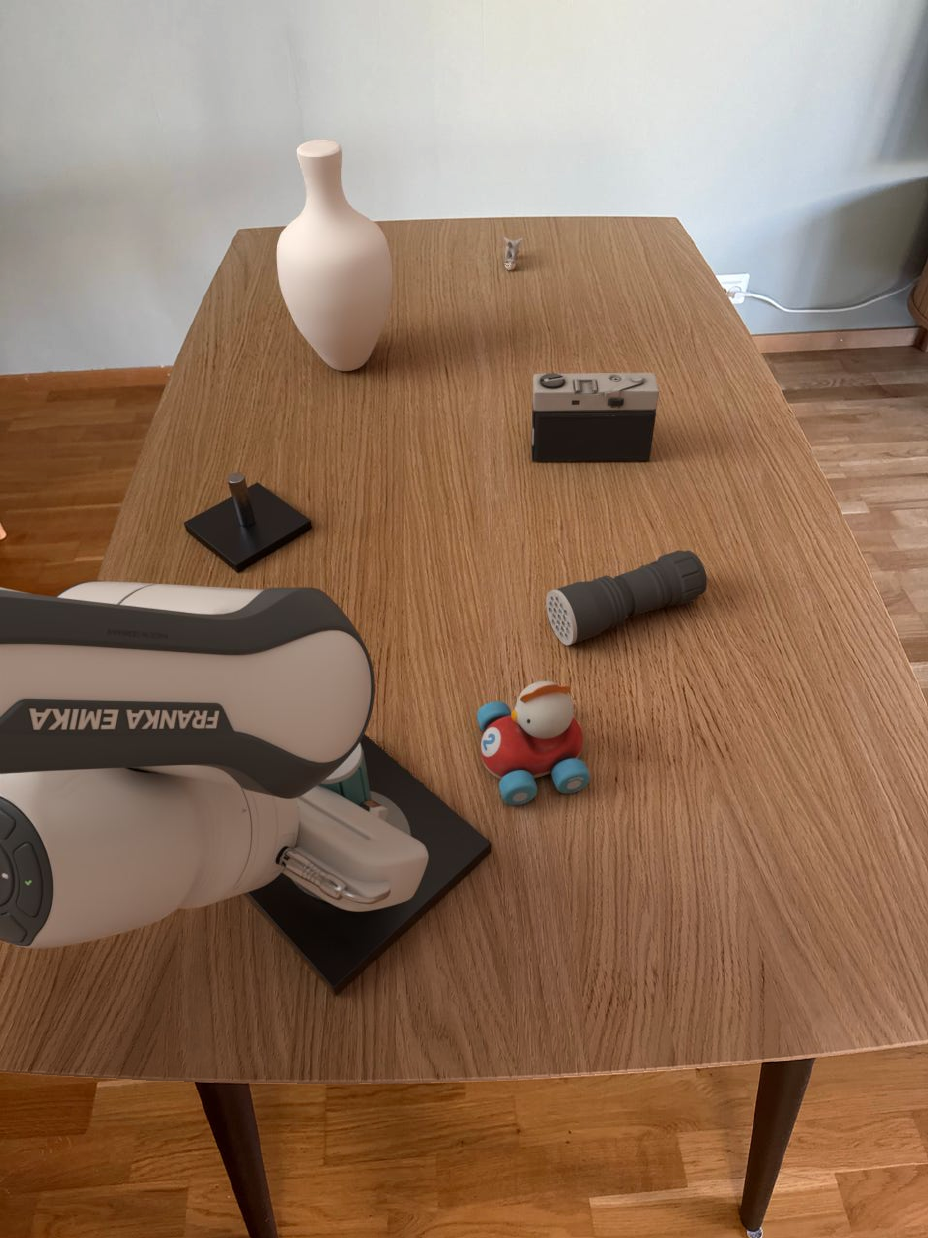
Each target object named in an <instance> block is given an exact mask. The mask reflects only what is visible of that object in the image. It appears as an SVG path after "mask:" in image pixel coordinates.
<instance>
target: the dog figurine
mask: <svg viewBox="0 0 928 1238" xmlns="http://www.w3.org/2000/svg"><path fill="white" fill-rule="evenodd" d="M502 238H503V240H504V242H505V243H506V247H505V250H504V259H505V260H504V261H503V262H504V268H505V269H506V270H507V271H513V270H514V269H515V268H516V267H517V266H516V265H517V264H516V260H515V259H517V256H518V254H519V253H520V250H519V249H520V248H519V246H520V243H521V242H522V241H523V240H524V237H520V238H518V239H514V240H512V239H510V238H508V237H506V236H502ZM514 260H515V261H514ZM505 264H506V265H509V266H506V265H505ZM514 264H515V265H514ZM510 265H514V266H510Z"/></svg>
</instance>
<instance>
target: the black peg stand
mask: <svg viewBox="0 0 928 1238" xmlns="http://www.w3.org/2000/svg"><path fill="white" fill-rule="evenodd" d="M226 480H227V484H228V486H229V492H230V495H231V496H229V497H227V498H226V499H224V500H222V501H221V502H219V503H217V504H215V505H213V506H211V507H209V508H207V509H206V510H205V511H202V512H201V513H199V514H197V515H195V516H194V517H192V518H189V519H188V520H186V521H184V522H183V526H184V528H185V531H186V533H188V534H189V535H191V537H193V538H194V539H195V540H197V541H198V542H199V543H201V545H203V546H204V547H205V548H207V550H209V551H210V552H211V553H212V554H214V555H215V556H216V557H218V558H219V559H220V560H221V561H223V562H224V563H225V564H226V565H227V566H229V567H230V568H231V569H233V571H235V572H236V573H237V574H239V573H240V572H242V571H244V570H246V569H247V568H249V567H250V566H252V565H254V564H256V563H257V562H259V561H260V560H262V559H264V558H265V557H267V556H269V555H271V554H272V553H274V552H276V551H277V550H280V549H281V548H282V547H284V546H285V545H287V544H289V543H290V542H293V541H295V540H296V539H297V538H299V537H302V536H303V535H304V534H306V533H308V532H309V531H311V530H312V529H313V523H312V520H311V519H310V518H309V517H307V516H306V515H304V514H303V513H302V512H300V511H299V510H298V509H296V508H294V507H293V506H291V504H289V503H288V502H287V501H284V500H283V499H282V498H280V496H278V495H277V494H275V493H274V492H272V491H271V490H270V489H267V487H265V486H264V485H262V484H261V483H259V482H255V483H254V484H251V485H250V486H248V485H247V480H246V476H245V474H243V472H239V471H237V472H233V473H232V472H231V473H230V474H229V475H228V476H227V479H226Z"/></svg>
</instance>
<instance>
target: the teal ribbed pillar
mask: <svg viewBox="0 0 928 1238" xmlns="http://www.w3.org/2000/svg"><path fill="white" fill-rule="evenodd" d="M318 786H322V787H325V788H327V789H330V790H332V791H334V792H336V793H338V794H339V795H341V796H343V797H344V798H346V799H348V800H350V801H351V802H353V803H355V804H356V805H358V806H360V805H361V802H364V801H369V800H371V794H370V788H369V782H368V775H367V769H366V763H365V757H364V751H363V749H362V746H361V744H360V743H359V744H358V746H357V747H356V749H355V750H354V751H353V752H352V754H351V755H350V756H349V757H348V758H347V759H346V760H345V762H344V763H343V764H342V765H341V766H340V767H339V768H338V769H337V770H335V771H334V772H333V773H332V774H331V775H330V776H329V777H327V778H326V779H325V780H324V781H322V782H321V783H320V784H319V785H318Z"/></svg>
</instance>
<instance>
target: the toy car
mask: <svg viewBox="0 0 928 1238" xmlns="http://www.w3.org/2000/svg"><path fill="white" fill-rule="evenodd" d="M569 692H571V686H570V685H569V684H563V685H560V684H559V683H556V682H555V681H552V680H537V681H534V682H532V683H530V684H529V685H527V686H526V687H524V688H523V689H522V691H521V692H520V694H519V695H518V698H517V699H516V703H515V707H514V708H513V709H512V711H511V708H510V707H509V705H508V704H507V703H505V702H503V701H499V700H498V701H489V702H487V703H485V704H483V705H482V706H481V707H480V708H479V709H478V710H477V713H476V719H477V722H478V726H479V729H480V730H481V732H482V733H483V735H482V737H481V741H480V756H481V760H482V763H483V765H484V767H485V769H486V770H487V771H488V773H490V774H491V775H492V776H493V777H495V778H497V779H498V780H499V783H498V789H499V792H500V796H501V799H502V802H503V803H505V804H507V805H509V806H521V805H524V804H527V803H529V802H531V800H533V799H534V798H535V797H536V795H537V793H538V786H537V784H536V780H535V779H537V778H541V777H545V776H548V775H550V774H551V779H552V781H553V782H552V783H553V784H554V786H555V789H556V790H557V791H558V792H559V793H561V794H573V793H577V792H579V791H582V790H583V789H585V788H586V787H587V786H588V784H589V782H590V781H591V774H590V772H589V769H588V767H587V765H586V763H585V762H584V761H583V759H580V758H579V757H580V755H581V753H582V750H583V744H584V737H583V731H582V728H581V726H580V723H579V722H578V720H577V719H576V718H575V716H574V714H575V708H574V707H575V706H574V701H573V699H572V696H571V694H570V693H569Z"/></svg>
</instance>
